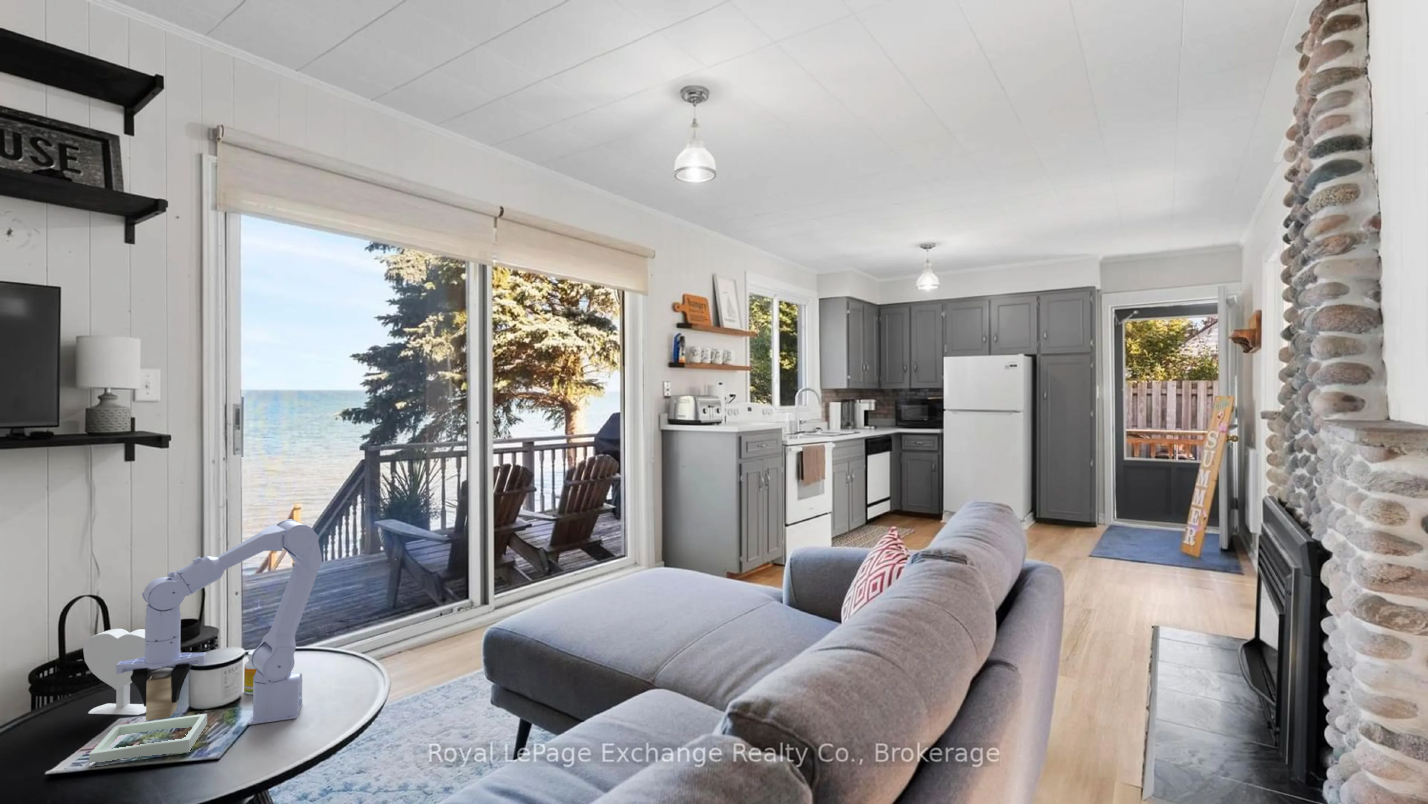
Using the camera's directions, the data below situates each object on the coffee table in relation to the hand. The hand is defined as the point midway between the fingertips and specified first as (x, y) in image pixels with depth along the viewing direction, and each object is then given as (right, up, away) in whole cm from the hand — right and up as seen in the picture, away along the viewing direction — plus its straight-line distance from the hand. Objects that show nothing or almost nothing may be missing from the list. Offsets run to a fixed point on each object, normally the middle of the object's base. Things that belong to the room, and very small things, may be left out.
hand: (161, 702), depth 140 cm
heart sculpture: (-22, -9, +16) cm, 29 cm away
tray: (-3, -9, +1) cm, 10 cm away
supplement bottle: (+1, -9, +27) cm, 29 cm away
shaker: (0, -2, 0) cm, 2 cm away
